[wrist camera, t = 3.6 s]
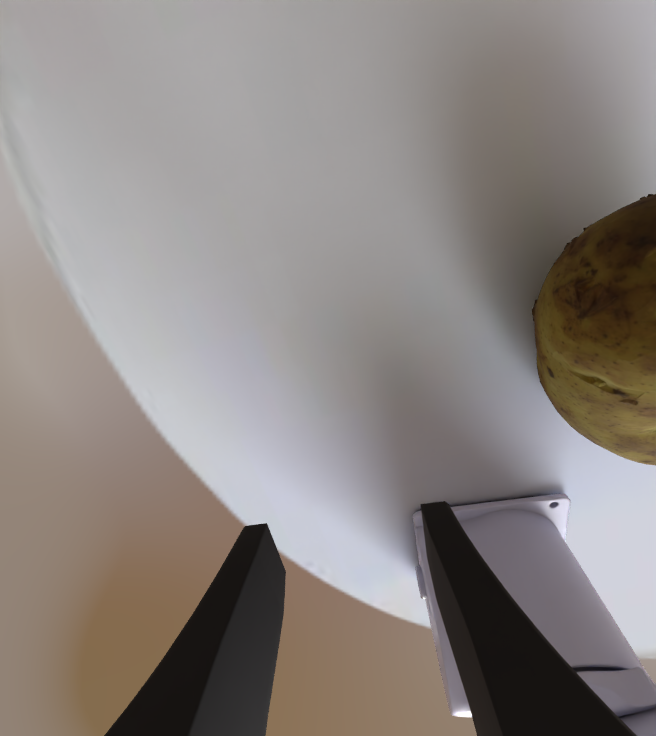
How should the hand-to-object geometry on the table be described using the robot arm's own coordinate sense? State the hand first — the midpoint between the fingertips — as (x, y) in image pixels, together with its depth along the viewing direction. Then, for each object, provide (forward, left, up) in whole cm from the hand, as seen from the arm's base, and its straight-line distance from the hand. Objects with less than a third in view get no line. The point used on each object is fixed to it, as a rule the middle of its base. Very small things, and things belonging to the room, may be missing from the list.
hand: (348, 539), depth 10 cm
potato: (+12, 0, -11) cm, 16 cm away
